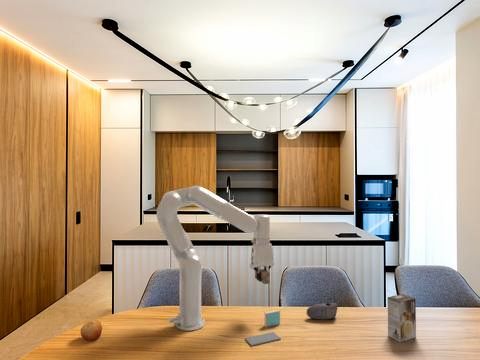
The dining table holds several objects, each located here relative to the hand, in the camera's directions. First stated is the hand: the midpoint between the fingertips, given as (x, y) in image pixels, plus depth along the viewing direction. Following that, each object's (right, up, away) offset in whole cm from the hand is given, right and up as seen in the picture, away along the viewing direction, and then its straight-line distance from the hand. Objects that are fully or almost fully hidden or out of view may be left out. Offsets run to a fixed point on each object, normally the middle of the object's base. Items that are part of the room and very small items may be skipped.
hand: (262, 280), depth 154 cm
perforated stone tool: (+28, -17, -2) cm, 33 cm away
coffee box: (+56, -17, -20) cm, 62 cm away
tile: (+4, -17, -9) cm, 20 cm away
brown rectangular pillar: (0, 0, 0) cm, 0 cm away
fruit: (-71, -18, -21) cm, 76 cm away
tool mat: (-1, -17, -22) cm, 28 cm away
